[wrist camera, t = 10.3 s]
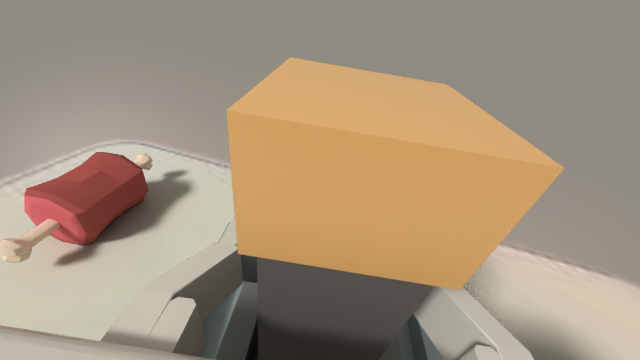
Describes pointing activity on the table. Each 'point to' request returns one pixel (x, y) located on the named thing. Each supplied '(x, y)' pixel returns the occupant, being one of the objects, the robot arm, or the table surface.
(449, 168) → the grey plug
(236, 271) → the robot arm
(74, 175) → the meat
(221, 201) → the table surface
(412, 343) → the box
